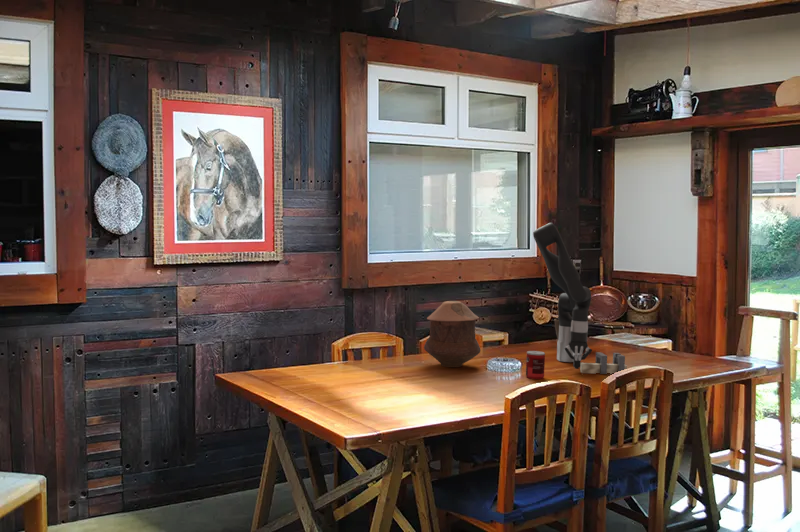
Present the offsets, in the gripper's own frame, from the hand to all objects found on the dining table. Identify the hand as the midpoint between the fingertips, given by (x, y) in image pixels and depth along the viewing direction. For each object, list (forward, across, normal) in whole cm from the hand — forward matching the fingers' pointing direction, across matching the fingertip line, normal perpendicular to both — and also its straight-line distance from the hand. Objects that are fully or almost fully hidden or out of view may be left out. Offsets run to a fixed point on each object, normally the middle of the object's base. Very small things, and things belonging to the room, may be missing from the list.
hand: (576, 368), depth 351 cm
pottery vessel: (+3, -56, +8) cm, 57 cm away
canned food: (+2, -22, -15) cm, 27 cm away
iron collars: (+1, +15, 0) cm, 15 cm away
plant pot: (+2, +12, +67) cm, 68 cm away
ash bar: (+1, +12, 0) cm, 12 cm away
